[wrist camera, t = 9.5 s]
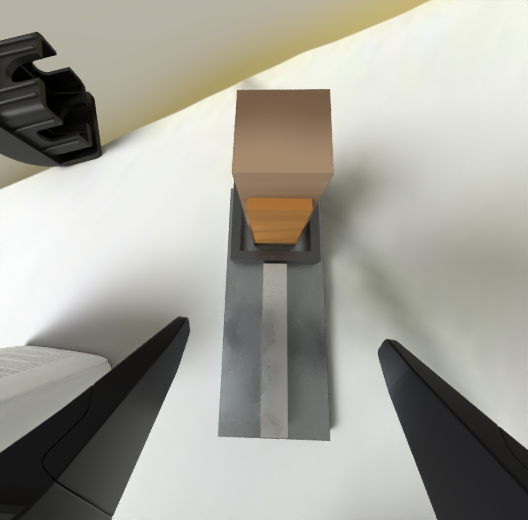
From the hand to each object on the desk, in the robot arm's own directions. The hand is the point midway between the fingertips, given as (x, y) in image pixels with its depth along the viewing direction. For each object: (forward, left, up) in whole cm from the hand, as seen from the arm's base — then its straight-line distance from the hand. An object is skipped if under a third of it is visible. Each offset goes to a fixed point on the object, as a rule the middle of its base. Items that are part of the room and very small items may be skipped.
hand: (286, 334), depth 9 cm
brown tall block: (+8, -4, -9) cm, 12 cm away
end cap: (+30, +12, -10) cm, 34 cm away
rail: (+1, 0, -10) cm, 10 cm away
